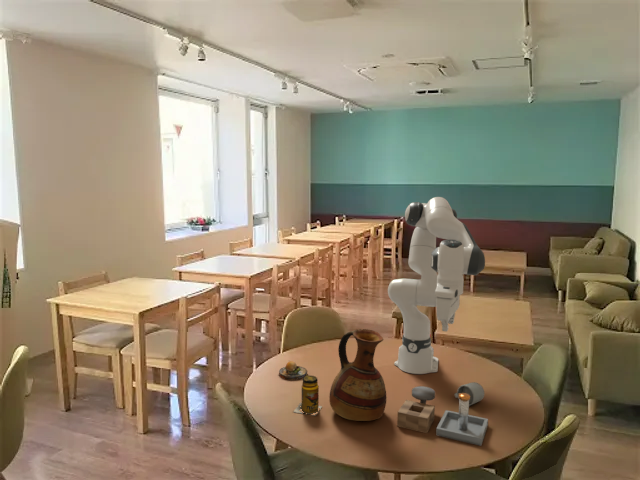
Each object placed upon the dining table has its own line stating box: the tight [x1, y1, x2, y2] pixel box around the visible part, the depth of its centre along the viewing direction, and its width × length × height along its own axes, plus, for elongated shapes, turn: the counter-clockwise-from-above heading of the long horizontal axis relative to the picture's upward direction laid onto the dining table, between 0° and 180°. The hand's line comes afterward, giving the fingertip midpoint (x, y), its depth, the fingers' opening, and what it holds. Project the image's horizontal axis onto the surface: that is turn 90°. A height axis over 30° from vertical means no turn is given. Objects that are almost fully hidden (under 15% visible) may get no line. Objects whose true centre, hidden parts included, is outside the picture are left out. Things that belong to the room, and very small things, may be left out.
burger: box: [278, 360, 308, 381], centre depth 208 cm, size 12×12×8 cm
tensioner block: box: [396, 385, 436, 434], centre depth 171 cm, size 18×10×8 cm, turn 154°
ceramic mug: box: [454, 382, 485, 407], centre depth 184 cm, size 10×8×7 cm
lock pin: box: [458, 393, 470, 431], centre depth 163 cm, size 4×4×12 cm
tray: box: [435, 409, 489, 447], centre depth 163 cm, size 14×14×2 cm
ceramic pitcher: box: [328, 328, 388, 422], centre depth 172 cm, size 20×20×30 cm
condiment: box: [293, 375, 323, 417], centre depth 176 cm, size 7×8×12 cm
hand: (448, 327), depth 172 cm, fingers open, 8 cm apart
